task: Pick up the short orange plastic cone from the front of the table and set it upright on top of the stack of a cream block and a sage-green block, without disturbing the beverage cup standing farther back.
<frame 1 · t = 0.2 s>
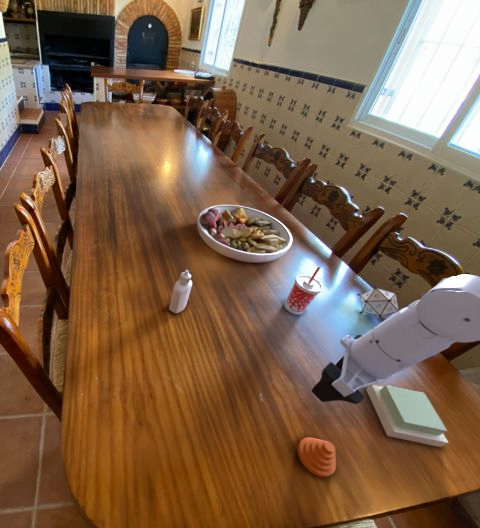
hand: (329, 382, 49), 11 cm above the table, tool pointing down, fingers open, 7 cm apart
eye dropper bottle: (177, 306, 75), on the table
bowl: (239, 239, 101), on the table
game die: (369, 313, 78), on the table
top block: (407, 411, 56), point 2 cm above the table, touching base block
base block: (400, 416, 57), on the table, touching top block
beverage cup: (293, 308, 77), on the table
cone: (315, 457, 50), on the table
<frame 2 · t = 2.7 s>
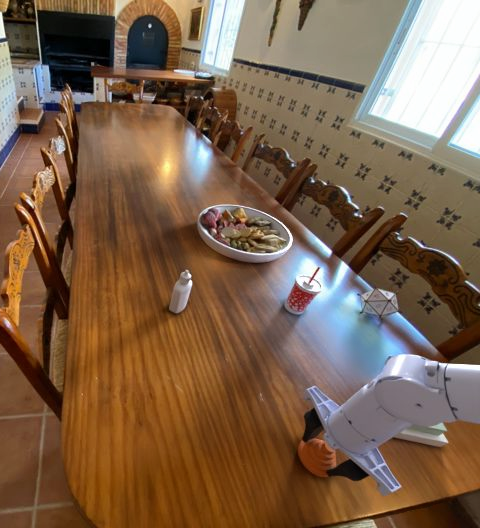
hand: (318, 454, 49), 1 cm above the table, tool pointing down, fingers closed on cone, 4 cm apart
cone: (315, 457, 50), on the table, touching gripper
everything else where it was.
when the fingers open (5 cm above the table, at t = 7.1 s): cone stays where it is, resting on top block.
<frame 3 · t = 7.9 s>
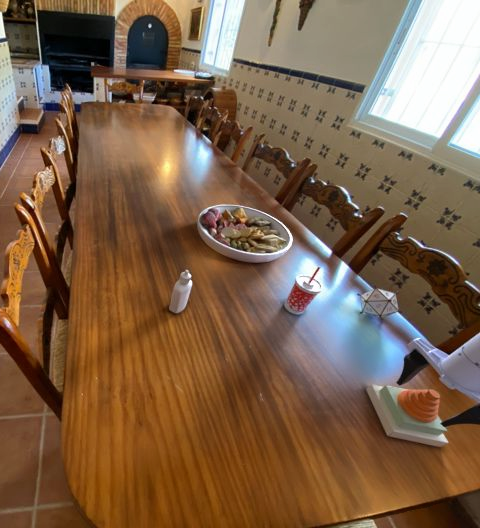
hand: (422, 402, 53), 6 cm above the table, tool pointing down, fingers open, 7 cm apart
top block: (407, 411, 56), point 2 cm above the table, touching base block, cone
cone: (414, 406, 54), point 4 cm above the table, touching top block
everything else where it was.
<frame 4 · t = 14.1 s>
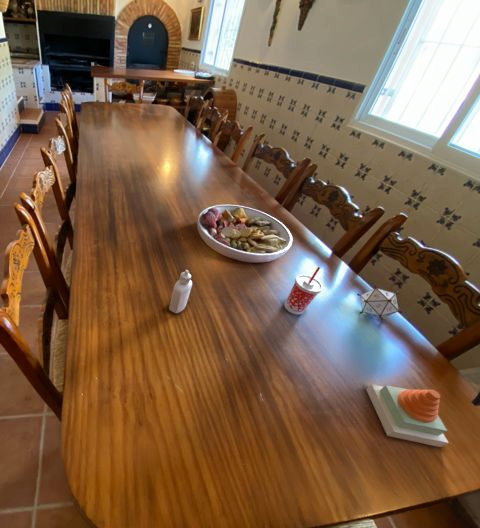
nothing on the table moved.
at the end: cone 0.0 cm off-centre on the top block, point 2.0 cm above the top block's base; cone tilted 0°; beverage cup moved 0.2 cm from its start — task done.
